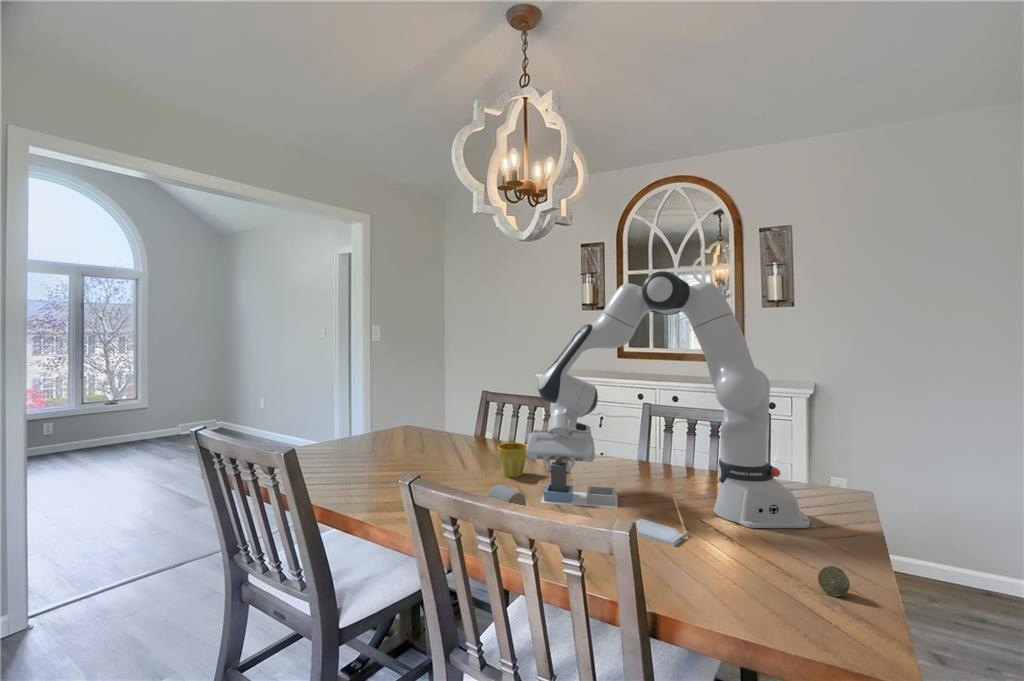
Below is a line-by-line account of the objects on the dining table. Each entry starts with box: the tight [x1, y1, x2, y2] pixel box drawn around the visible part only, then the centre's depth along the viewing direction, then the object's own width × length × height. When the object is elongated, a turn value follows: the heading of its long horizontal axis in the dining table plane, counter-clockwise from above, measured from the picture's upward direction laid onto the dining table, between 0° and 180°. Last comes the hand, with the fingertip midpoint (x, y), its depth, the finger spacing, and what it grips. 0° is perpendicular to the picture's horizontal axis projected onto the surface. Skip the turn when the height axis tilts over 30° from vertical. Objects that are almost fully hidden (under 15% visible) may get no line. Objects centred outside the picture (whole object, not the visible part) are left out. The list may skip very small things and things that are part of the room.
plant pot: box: [497, 442, 528, 478], centre depth 171 cm, size 10×10×10 cm
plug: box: [550, 456, 567, 492], centre depth 146 cm, size 4×4×10 cm
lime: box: [817, 565, 851, 597], centre depth 95 cm, size 4×5×5 cm
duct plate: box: [540, 483, 618, 509], centre depth 145 cm, size 21×11×4 cm, turn 78°
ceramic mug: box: [487, 483, 527, 506], centre depth 135 cm, size 11×8×8 cm
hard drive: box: [635, 518, 689, 547], centre depth 123 cm, size 2×8×12 cm
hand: (558, 472), depth 145 cm, fingers closed on plug, 4 cm apart
